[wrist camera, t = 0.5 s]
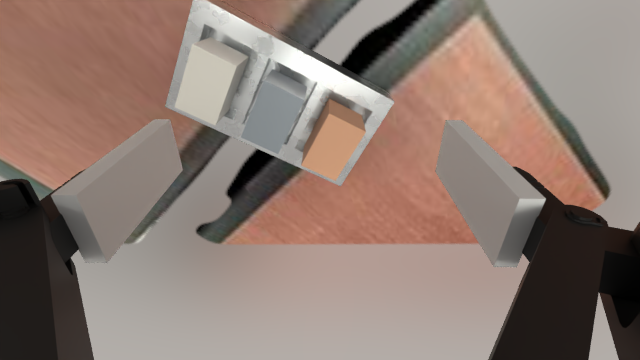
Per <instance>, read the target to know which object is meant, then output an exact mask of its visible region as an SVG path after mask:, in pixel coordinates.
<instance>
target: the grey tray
mask: <svg viewBox="0 0 640 360" xmlns="http://www.w3.org/2000/svg"><path fill="white" fill-rule="evenodd" d="M210 37H212V38H214V39H216V40H217V41H219V42H221V43H223V44H225V45H227V46H229V47H231V48H233V49H235V50H237V51H239V52H241V53H243V54H245V55H247V56H249V58H248V61H247V63H246V66H245V69H244V71H243V74H242V77H241V79H240V82H239V85H238V87H237V90H236V93H235V96H234V98H233V101H232V104H231V106H230V109H229V111H228V112H227V113H226V114H225V115H224V116H223V118H222V119H221V120H220V121H219V122H218V123H217V124H216V126H215V125H213V124H210V123H208V122H206V121H204V120H202V119H199V118H197V117H195V116H193V115H191V114H188V113H186V112H184V111H182V110H180V109H177V108H175V104H176V100H177V97H178V93H179V90H180V86H181V82H182V79H183V75H184V72H185V68H186V64H187V61H188V57H189V54H190V50H191V47H192V44H193V43H196V42H199V41H202V40H204V39H207V38H210ZM272 69H274V70H276V71H278V72H280V73H282V74H284V75H286V76H287V77H289V78H291V79H293V80H295V81H297V82H299V83H301V84H303V85H305V86H307V91H306V95H305V100H304V102H303V104H302V106H301V108H300V110H299V112H298V114H297V116H296V119H295V121H294V123H293V125H292V127H291V129H290V131H289V133H288V135H287V137H286V139H285V141H284V143H283V145H282V147H281V149H280V151H279V153H278V154H276V153H274V152H272V151H270V150H268V149H265V148H263V147H261V146H259V145H257V144H254V143H252V142H250V141H248V140H246V139H243V138H241V135H242V133H243V131H244V128H245V126H246V123H247V121H248V118H249V116H250V113H251V111H252V109H253V106H254V104H255V101H256V99H257V96H258V94H259V91H260V89H261V87H262V84H263V82H264V80H265V78H266V77H267V76H268V74H269V73H270V72H271V70H272ZM329 99H331V100H333V101H335V102H337V103H339V104H341V105H343V106H345V107H347V108H349V109H351V110H353V111H355V112H357V113H359V114H361V115H362V119H363V123H364V126H365V130H366V133H365V134H364V136H363V138H362V139H361V141H360V143H359V144H358V146H357V147H356V149H355V151H354V152H353V154H352V155H351V157H350V159H349V160H348V162H347V163H346V165H345V167H344V168H343V170H342V171H341V173H340V175H339V176H338V178H337V179H336V181H334V180H332V179H330V178H328V177H325V176H323V175H321V174H319V173H317V172H314V171H312V170H310V169H308V168H306V167H303V166H301V163H302V157H303V151H304V145H305V143H306V141H307V139H308V138H309V136H310V134H311V132H312V130H313V128H314V126H315V124H316V122H317V120H318V119H319V117H320V115H321V113H322V111H323V109H324V107H325V105H326V103H327V102H328V100H329ZM393 103H394V100H393V98H392V97H391V95H390V93H389V92H388V91H386V90H384V89H382V88H381V87H379V86H377V85H375V84H373V83H371V82H369V81H368V80H366V79H364V78H362V77H360V76H358V75H357V74H355V73H353V72H351V71H349V70H347V69H346V68H344V67H342V66H340V65H338V64H336V63H335V62H333V61H331V60H329V59H327V58H325V57H323V56H322V55H320V54H318V53H316V52H314V51H312V50H311V49H309V48H307V47H305V46H303V45H301V44H300V43H298V42H296V41H294V40H292V39H290V38H289V37H287V36H285V35H283V34H281V33H279V32H277V31H276V30H274V29H272V28H270V27H268V26H266V25H265V24H263V23H261V22H259V21H257V20H255V19H254V18H252V17H250V16H248V15H246V14H244V13H243V12H241V11H239V10H237V9H235V8H233V7H231V6H230V5H228V4H226V3H224V2H222V1H220V0H193V2H192V6H191V10H190V14H189V18H188V21H187V25H186V29H185V33H184V37H183V40H182V44H181V48H180V52H179V56H178V60H177V63H176V67H175V71H174V75H173V79H172V82H171V86H170V90H169V94H168V98H167V101H166V105H165V107H167V108H169V109H171V110H173V111H175V112H178V113H180V114H182V115H184V116H186V117H189V118H191V119H193V120H195V121H198V122H200V123H202V124H204V125H206V126H209V127H211V128H213V129H215V130H217V131H220V132H222V133H224V134H226V135H229V136H231V137H233V138H236V139H237V140H240V141H242V142H244V143H246V144H248V145H251V146H253V147H255V148H257V149H259V150H262V151H264V152H266V153H268V154H271V155H273V156H275V157H277V158H279V159H282V160H284V161H286V162H288V163H290V164H293V165H295V166H297V167H299V168H301V169H304V170H306V171H308V172H310V173H313V174H315V175H317V176H319V177H321V178H324V179H326V180H328V181H330V182H332V183H335V184H337V185H339V186H341V185H342V183H343V182H344V180H345V179H346V177H347V175H348V174H349V172H350V171H351V169H352V168H353V166H354V164H355V163H356V161H357V160H358V158H359V157H360V155H361V153H362V152H363V150H364V149H365V147H366V146H367V144H368V143H369V141H370V139H371V138H372V136H373V135H374V133H375V132H376V130H377V128H378V127H379V125H380V124H381V122H382V121H383V119H384V117H385V116H386V114H387V113H388V111H389V110H390V108H391V106H392V105H393Z"/></svg>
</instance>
